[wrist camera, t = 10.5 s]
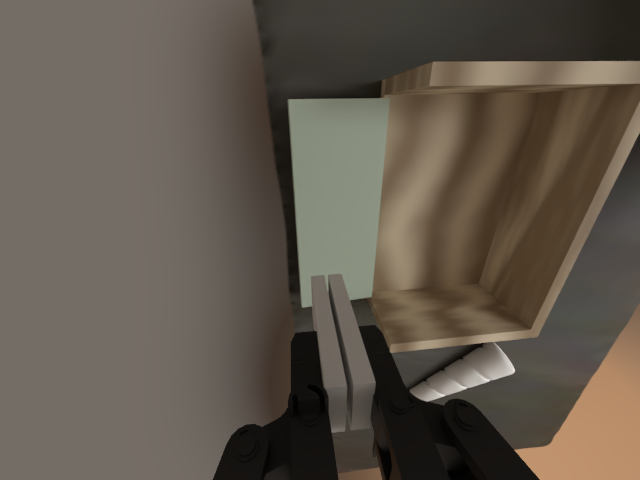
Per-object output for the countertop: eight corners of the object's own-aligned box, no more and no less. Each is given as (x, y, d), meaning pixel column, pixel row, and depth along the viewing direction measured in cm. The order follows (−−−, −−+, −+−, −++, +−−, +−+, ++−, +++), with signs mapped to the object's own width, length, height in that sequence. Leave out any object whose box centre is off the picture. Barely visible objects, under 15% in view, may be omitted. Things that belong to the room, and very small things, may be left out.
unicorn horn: (363, 402, 44) (372, 433, 40) (489, 333, 40) (513, 359, 36) (377, 413, 46) (386, 444, 42) (498, 348, 42) (522, 375, 38)
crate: (546, 78, 24) (675, 60, 16) (479, 285, 35) (537, 337, 27) (381, 80, 23) (432, 61, 15) (365, 295, 33) (389, 352, 25)
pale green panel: (389, 97, 21) (288, 99, 20) (371, 296, 31) (302, 307, 29) (381, 99, 23) (286, 100, 21) (367, 289, 32) (300, 298, 31)
